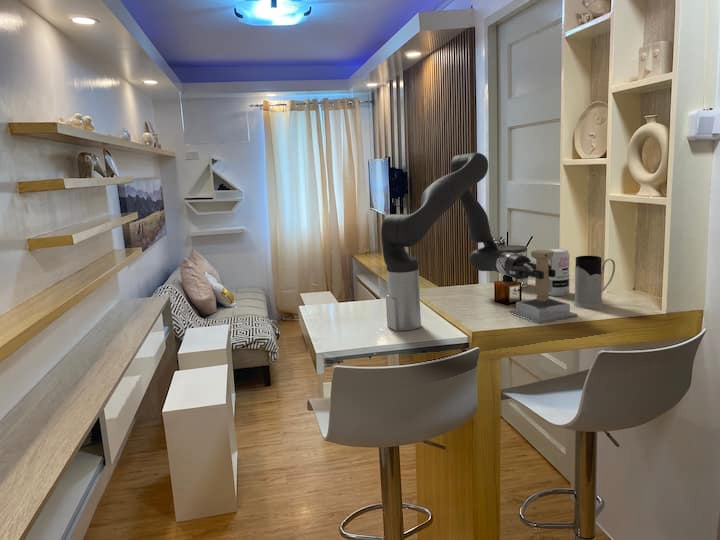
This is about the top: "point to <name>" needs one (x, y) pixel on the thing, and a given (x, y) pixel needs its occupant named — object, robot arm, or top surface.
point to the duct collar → (543, 310)
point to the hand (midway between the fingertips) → (548, 274)
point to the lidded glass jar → (517, 250)
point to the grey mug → (589, 281)
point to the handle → (542, 265)
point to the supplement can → (559, 272)
